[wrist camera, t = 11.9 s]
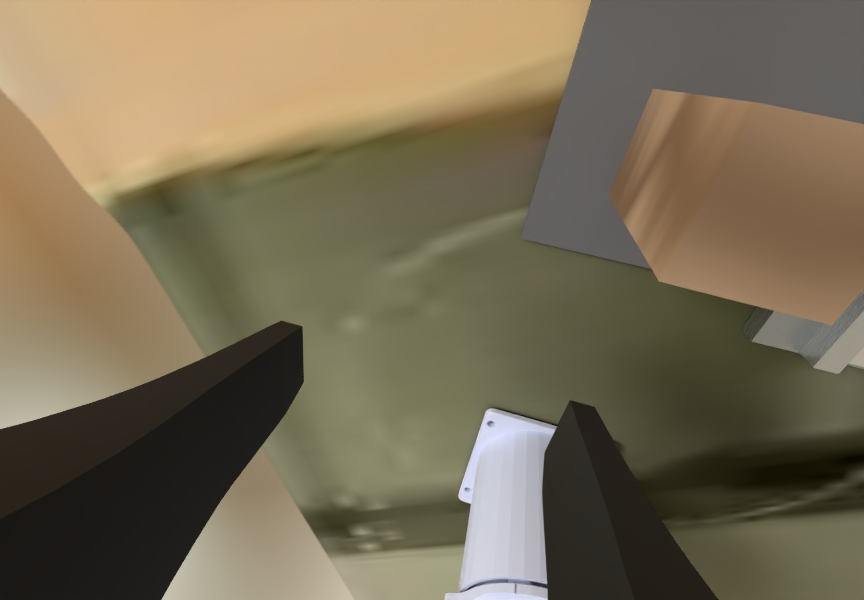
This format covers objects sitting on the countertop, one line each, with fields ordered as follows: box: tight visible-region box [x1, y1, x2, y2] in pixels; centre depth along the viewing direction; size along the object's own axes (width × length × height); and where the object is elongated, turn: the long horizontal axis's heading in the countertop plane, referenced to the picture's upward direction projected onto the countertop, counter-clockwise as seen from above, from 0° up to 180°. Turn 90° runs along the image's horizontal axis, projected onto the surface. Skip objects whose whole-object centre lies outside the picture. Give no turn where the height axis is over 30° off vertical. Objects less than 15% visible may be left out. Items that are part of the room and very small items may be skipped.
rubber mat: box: [521, 0, 864, 269], centre depth 15 cm, size 10×10×1 cm
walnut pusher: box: [608, 89, 864, 325], centre depth 12 cm, size 4×4×8 cm
